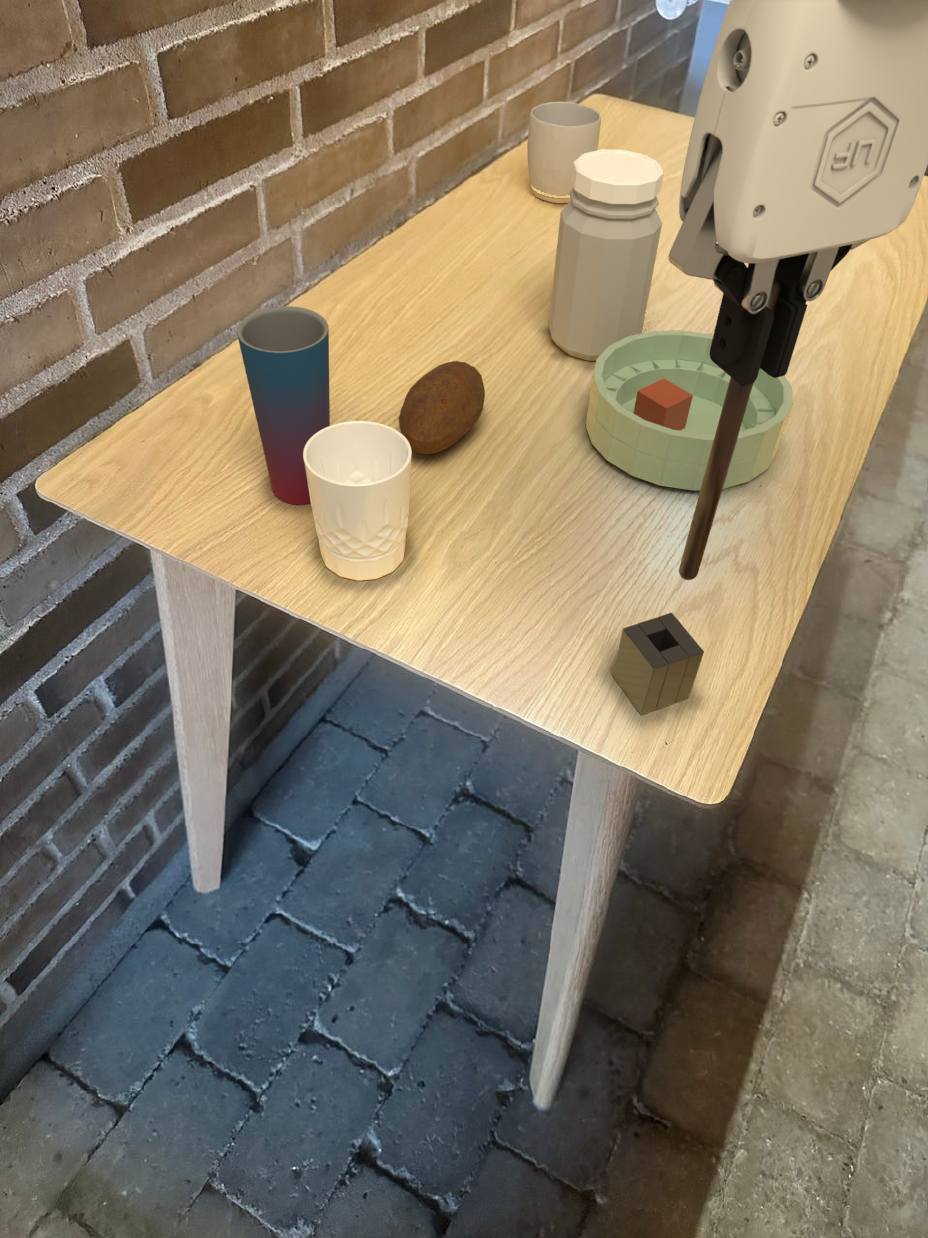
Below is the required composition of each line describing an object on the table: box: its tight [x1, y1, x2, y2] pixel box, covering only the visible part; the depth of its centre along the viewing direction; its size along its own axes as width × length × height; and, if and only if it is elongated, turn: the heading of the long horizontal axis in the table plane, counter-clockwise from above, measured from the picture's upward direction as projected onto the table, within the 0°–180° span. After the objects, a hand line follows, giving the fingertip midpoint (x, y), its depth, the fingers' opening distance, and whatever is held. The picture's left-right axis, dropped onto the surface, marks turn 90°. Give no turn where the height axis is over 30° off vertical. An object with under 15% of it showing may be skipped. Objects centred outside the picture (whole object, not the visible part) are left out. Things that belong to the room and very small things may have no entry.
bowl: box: [585, 329, 794, 491], centre depth 86 cm, size 18×18×6 cm
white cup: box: [303, 420, 413, 582], centre depth 72 cm, size 8×8×10 cm
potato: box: [398, 360, 486, 455], centre depth 84 cm, size 7×12×7 cm, turn 159°
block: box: [633, 378, 693, 431], centre depth 87 cm, size 4×4×4 cm
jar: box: [548, 148, 665, 362], centre depth 93 cm, size 10×10×18 cm
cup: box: [236, 305, 331, 506], centre depth 76 cm, size 7×7×15 cm
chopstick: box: [678, 276, 781, 581], centre depth 52 cm, size 1×1×20 cm
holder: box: [612, 612, 705, 716], centre depth 65 cm, size 4×4×5 cm
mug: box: [526, 101, 602, 204], centre depth 123 cm, size 13×9×10 cm
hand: (746, 366), depth 48 cm, fingers closed on chopstick, 1 cm apart
